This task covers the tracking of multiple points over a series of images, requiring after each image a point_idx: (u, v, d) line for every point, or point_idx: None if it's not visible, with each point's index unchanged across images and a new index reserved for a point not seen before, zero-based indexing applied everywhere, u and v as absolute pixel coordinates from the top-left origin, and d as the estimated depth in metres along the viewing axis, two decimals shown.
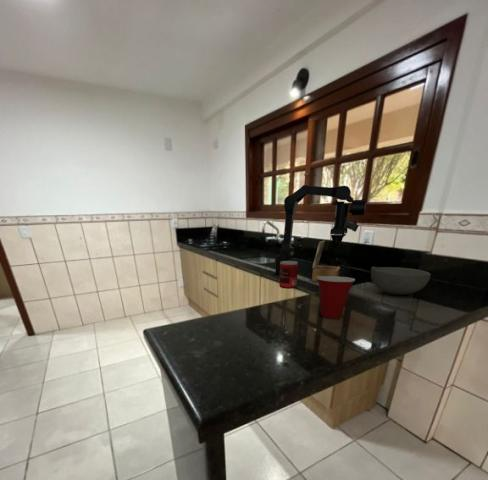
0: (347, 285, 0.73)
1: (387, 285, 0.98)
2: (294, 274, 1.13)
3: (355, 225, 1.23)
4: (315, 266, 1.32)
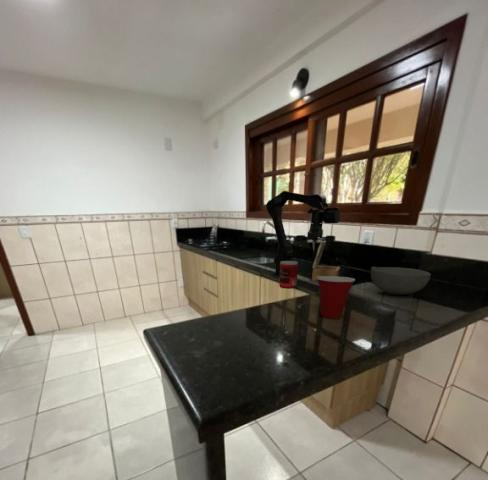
0: (347, 285, 0.73)
1: (387, 285, 0.98)
2: (294, 274, 1.13)
3: None
4: (315, 266, 1.32)
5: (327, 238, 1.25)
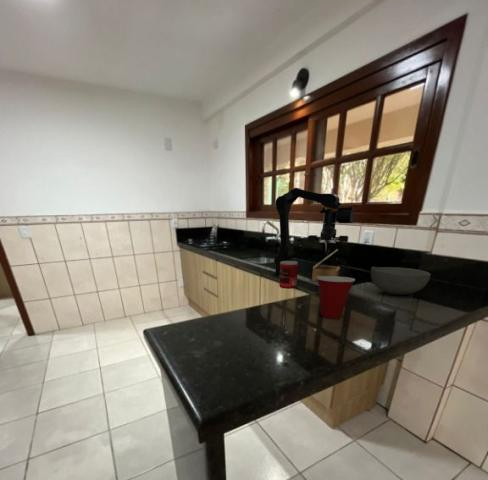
0: (347, 285, 0.73)
1: (387, 285, 0.98)
2: (294, 274, 1.13)
3: None
4: None
5: (340, 238, 1.22)
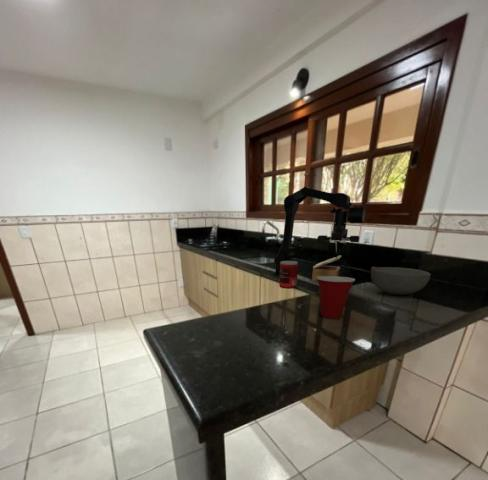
0: (347, 285, 0.73)
1: (387, 285, 0.98)
2: (294, 274, 1.13)
3: None
4: None
5: (351, 238, 1.20)
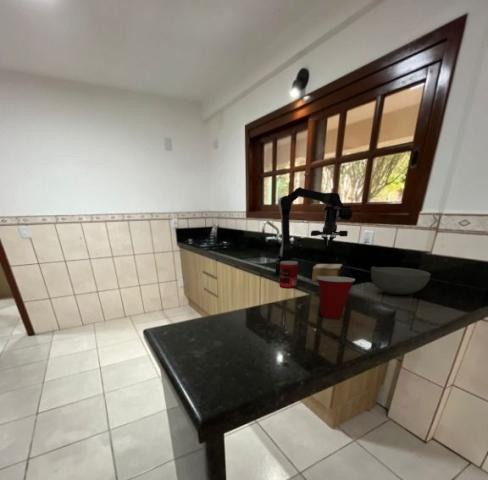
0: (347, 285, 0.73)
1: (387, 285, 0.98)
2: (294, 274, 1.13)
3: None
4: None
5: (340, 233, 1.37)
